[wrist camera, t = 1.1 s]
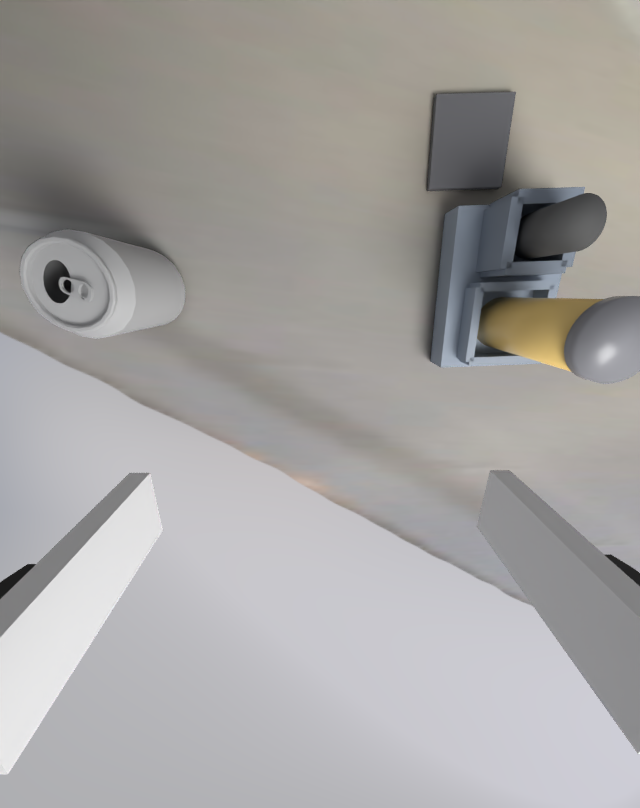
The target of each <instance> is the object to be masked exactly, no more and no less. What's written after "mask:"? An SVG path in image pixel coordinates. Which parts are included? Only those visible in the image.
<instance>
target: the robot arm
mask: <svg viewBox="0 0 640 808" xmlns="http://www.w3.org/2000/svg"><path fill="white" fill-rule="evenodd" d="M477 528H478V529H479V530H480V532H481V533H482V535H483V536H484V537H485V539H486V540H487V542H488V543H489V544H490V546H491V547H492V549H493V550H494V552H495V553H496V554H497V556H498V557H499V559H500V560H501V561H502V563H503V564H504V566H505V567H506V568H507V570H508V571H509V573H510V574H511V575H512V577H513V578H514V580H515V581H516V583H517V584H518V585H519V587H520V588H521V590H522V591H523V592H524V594H525V595H526V597H527V598H528V599H529V601H530V602H531V604H532V605H533V606H534V608H535V609H536V611H537V612H538V614H539V615H540V616H541V618H542V619H543V621H544V622H545V623H546V625H547V626H548V628H549V629H550V630H551V632H552V633H553V635H554V636H555V637H556V639H557V640H558V642H559V643H560V645H561V646H562V647H563V649H564V650H565V651H566V653H567V654H568V656H569V657H570V658H571V660H572V661H573V663H574V664H575V666H576V667H577V668H578V670H579V671H580V673H581V674H582V676H583V677H584V678H585V680H586V681H587V683H588V684H589V685H590V687H591V688H592V690H593V691H594V692H595V694H596V695H597V697H598V698H599V699H600V701H601V702H602V704H603V705H604V706H605V708H606V709H607V711H608V712H609V714H610V715H611V716H612V717H613V719H614V721H615V722H616V723H617V725H618V726H619V727H620V729H621V730H622V732H623V733H624V735H625V736H626V738H627V739H628V740H629V742H630V743H631V744H632V746H633V747H634V749H635V750H636V751H637V753H638V754H640V573H639V572H638V571H636V570H635V569H634V568H632V567H630V566H629V565H627V564H625V563H624V562H622V561H620V560H619V559H617V558H616V557H614V556H612V555H604V554H603V553H602V552H600V551H599V550H598V549H597V548H596V547H595V546H594V545H593V544H592V543H590V542H589V541H588V540H587V539H586V538H585V537H584V536H583V535H581V534H580V533H579V532H578V531H577V530H576V529H575V528H574V527H572V526H571V525H570V524H569V523H568V522H567V521H566V520H565V519H563V518H562V517H561V516H560V515H559V514H558V513H557V512H556V511H554V510H553V509H552V508H551V507H550V506H549V505H548V504H547V503H545V502H544V501H543V500H542V499H541V498H540V497H539V496H538V495H537V494H535V493H534V492H533V491H532V490H531V489H530V488H529V487H528V486H526V485H525V484H524V483H523V482H522V481H521V480H520V479H519V478H517V477H516V476H515V475H514V474H513V473H512V472H511V471H510V470H490V473H489V477H488V482H487V486H486V490H485V494H484V498H483V502H482V507H481V511H480V515H479V519H478V523H477ZM162 531H163V529H162V524H161V520H160V516H159V511H158V506H157V502H156V497H155V493H154V488H153V483H152V479H151V475H150V473H129V474H128V475H127V476H126V477H125V478H124V479H123V480H122V481H121V482H120V483H119V484H118V485H117V486H116V487H115V488H114V489H113V490H112V491H111V492H110V493H109V494H108V495H107V496H106V497H105V498H104V499H103V500H102V501H101V502H100V503H98V504H97V505H96V507H94V508H93V509H92V510H91V511H90V513H88V514H87V515H86V516H85V517H84V518H83V519H82V520H81V521H80V522H79V523H78V524H77V525H76V526H75V527H74V528H73V529H72V530H71V531H70V532H69V533H68V534H67V535H66V536H65V537H64V538H63V539H62V540H61V541H60V542H58V543H57V544H56V545H55V546H54V547H53V548H52V549H51V550H50V552H49V553H47V554H46V555H45V556H44V557H43V558H42V559H41V560H40V561H39V562H38V563H37V564H27V565H26V566H24V567H23V568H22V569H20V570H18V571H17V572H15V573H14V574H12V575H10V576H9V577H7V578H6V579H4V580H3V581H2V582H0V774H8V773H9V772H10V770H11V769H12V767H13V766H14V764H15V762H16V761H17V759H18V758H19V756H20V754H21V753H22V751H23V750H24V748H25V746H26V745H27V743H28V742H29V740H30V739H31V737H32V736H33V734H34V732H35V731H36V729H37V728H38V726H39V724H40V723H41V721H42V720H43V718H44V717H45V715H46V713H47V712H48V710H49V709H50V707H51V706H52V704H53V702H54V701H55V699H56V698H57V696H58V695H59V693H60V692H61V690H62V688H63V686H64V685H65V684H66V682H67V680H68V679H69V677H70V676H71V674H72V673H73V671H74V669H75V668H76V666H77V665H78V663H79V662H80V660H81V658H82V657H83V655H84V654H85V652H86V651H87V649H88V647H89V646H90V644H91V643H92V641H93V640H94V638H95V636H96V635H97V633H98V632H99V630H100V628H101V627H102V625H103V624H104V622H105V621H106V619H107V617H108V616H109V614H110V613H111V611H112V610H113V608H114V606H115V605H116V603H117V602H118V600H119V599H120V597H121V595H122V594H123V592H124V591H125V589H126V588H127V586H128V584H129V583H130V581H131V579H132V578H133V576H134V575H135V573H136V572H137V570H138V569H139V567H140V565H141V564H142V562H143V561H144V559H145V557H146V556H147V554H148V552H149V551H150V550H151V548H152V546H153V545H154V543H155V542H156V540H157V539H158V537H159V536H160V534H161V532H162Z"/></svg>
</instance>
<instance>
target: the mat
mask: <svg viewBox="0 0 640 808" xmlns="http://www.w3.org/2000/svg"><path fill="white" fill-rule="evenodd" d="M515 94H516V92H490V93H453V94H436V96H435V98H434V107H433V120H432V132H431V145H430V158H429V171H428V183H427V191H441V190H473V189H498V188H500V187H501V186H502V180H503V173H504V167H505V160H506V154H507V147H508V140H509V134H510V127H511V121H512V114H513V107H514V101H515Z"/></svg>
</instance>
